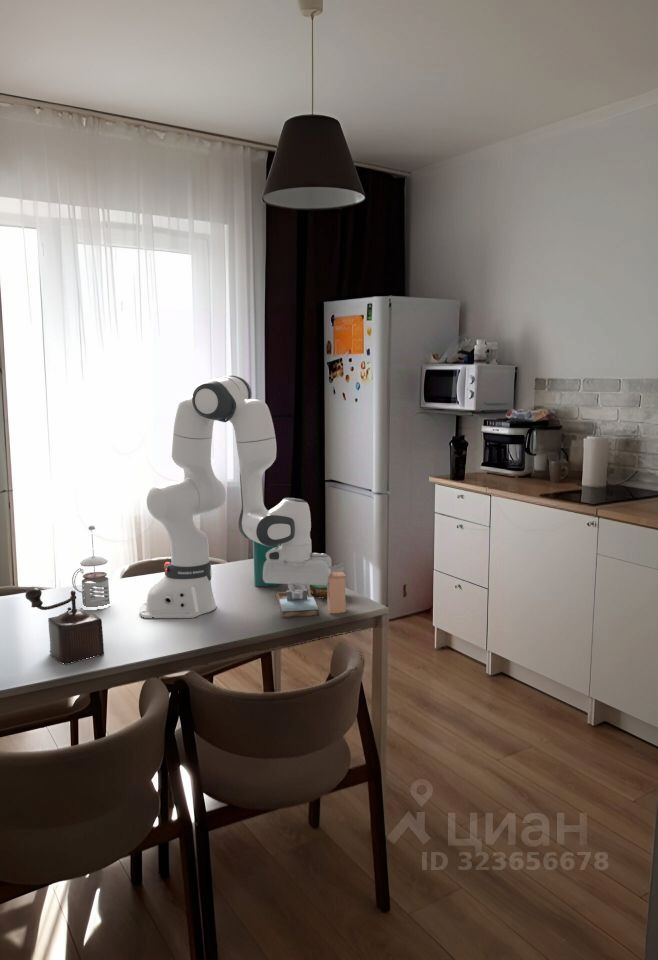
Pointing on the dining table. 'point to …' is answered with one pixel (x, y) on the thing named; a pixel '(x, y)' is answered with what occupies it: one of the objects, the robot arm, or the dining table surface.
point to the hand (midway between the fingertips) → (297, 598)
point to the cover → (298, 602)
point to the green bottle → (261, 564)
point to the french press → (94, 577)
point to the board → (295, 613)
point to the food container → (322, 589)
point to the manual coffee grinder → (71, 630)
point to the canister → (336, 592)
